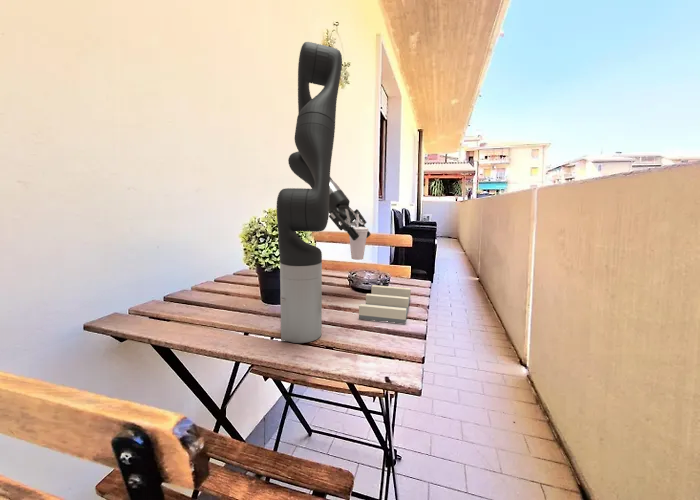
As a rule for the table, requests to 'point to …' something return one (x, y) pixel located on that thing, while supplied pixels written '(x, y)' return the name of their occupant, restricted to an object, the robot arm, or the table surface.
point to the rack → (386, 304)
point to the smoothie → (358, 242)
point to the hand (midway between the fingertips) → (362, 237)
